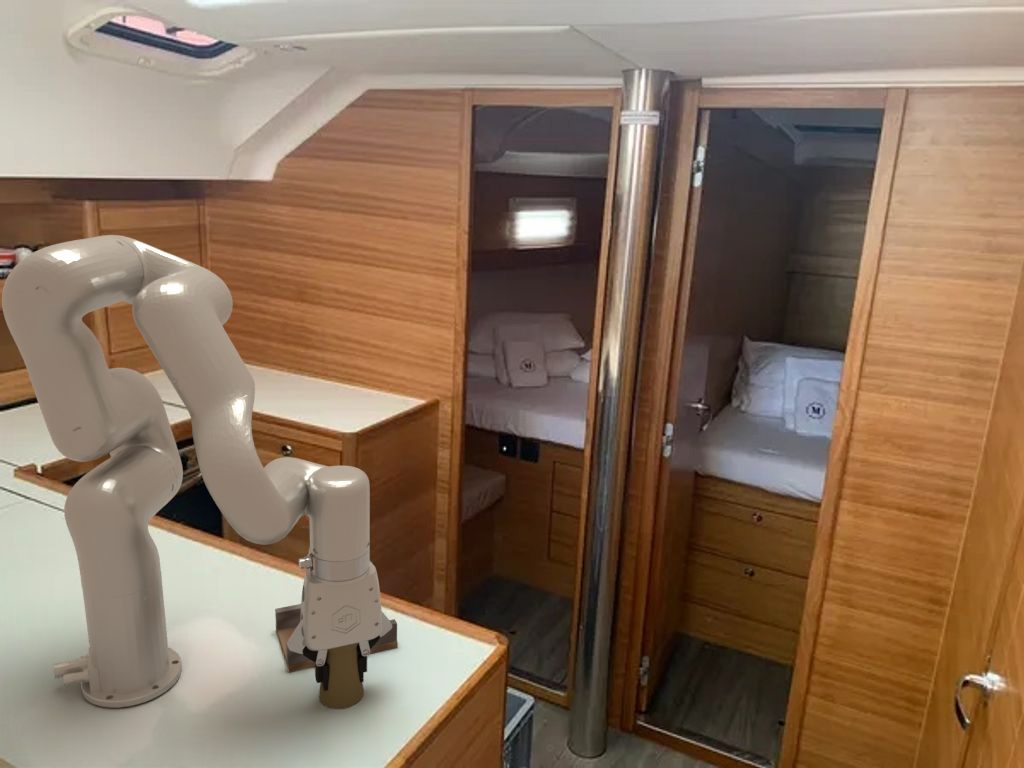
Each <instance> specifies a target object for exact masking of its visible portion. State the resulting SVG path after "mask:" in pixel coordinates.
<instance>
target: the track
mask: <svg viewBox="0 0 1024 768" xmlns="http://www.w3.org/2000/svg"><path fill="white" fill-rule="evenodd" d="M274 609H275V610H274V611H275V631H276V635H277V638H278V641H279V644H280V649H281V652H282V654H283V657H284V661H285V664H286V668H287V671H288V673H293V672H297V671H301V670H302V671H303V670H306V669H310V668H315V662H313V661H312V660H310V659H308V658H307V657H305V656H304V655H303V654H301V653H300V654H299V653H296V652H293V651H290V650H289V648H288V645H287V641H288V640H289V638H290V637H291V635H292V634H293V632H294V630H295V629H296V627H297V626H298V624H299V623H300V614H301V603H298V604H292V605H288V606H282V607H278V608H274ZM389 620H390V622H391V624H392V629H391V630H390V631H388V632H387V633H386V634H385V635H383V636H381V637H380V639H379V641H378V642H377V643H376V644H375V645H374V646H373V647H372V648H371V649H370V654H369V655H372V654H375V653H381V652H384V651H389V650H390V651H391V650H393V649H398V646H399V645H398V644H399V643H398V623H397V621H396V619H395V618H394V619H389ZM303 642H305V641H304V639H303Z"/></svg>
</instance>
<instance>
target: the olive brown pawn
mask: <svg viewBox="0 0 1024 768" xmlns="http://www.w3.org/2000/svg"><path fill="white" fill-rule="evenodd" d="M357 645H358V643H355V644H350V645H345V646H341V647H337V648H332V649H328V650H327V655H326V663H327V664H329V682H328V690H327V691H324V690H323V685H322V682H320V685H319V692H318V698H319V701H320V703H321V704H322V705H323V706H326V707H327V708H331V709H340V710H341V709H342V710H343V709H347V708H350V707H353V706H356V704H358V703H359V702H360V701H361V700H362V698H363V697H364V692H365V690H364V684H363V683H364V682H361V683H360V677H359V672H358V651H357Z"/></svg>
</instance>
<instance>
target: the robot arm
mask: <svg viewBox="0 0 1024 768" xmlns="http://www.w3.org/2000/svg"><path fill="white" fill-rule="evenodd" d="M122 302H123V303H125V304H130V305H132V308H131V310H132V317H133V321H134V324H135V325H136V327H137V329H138V331H139V333H140V335H141V336H142V338H143V340H144V341H145V342H146V344H147V346H148V348H149V349H150V351H151V352H152V354H153V355H154V356H153V357H155V359H156V361H157V362H158V363H159V365H160V367H161V369H162V370H163V372H164V373H165V374H164V375H166V377H167V378H168V380H169V382H170V384H171V385H172V386H173V388H174V390H175V392H176V393H177V396H179V398H180V400H181V401H182V404H184V406H185V408H186V410H187V411H188V414H189V417H190V420H191V427H192V439H193V444H194V448H195V454H196V458H197V463H198V468H199V471H200V474H201V477H202V479H203V482H204V485H205V487H206V489H207V491H208V492H209V495H210V496H211V498H212V499H213V502H215V504H216V506H217V507H218V509H219V511H220V512H221V514H222V515H223V517H224V518H225V520H226V521H227V522H228V524H229V525H230V526H231V527H232V529H234V531H235V532H236V533H237V534H238V535H239V536H240V537H242V538H243V539H244V540H246V541H248V542H250V543H253V544H255V545H256V544H257V545H262V546H263V545H264V546H265V545H270V544H271V545H272V544H275V543H277V542H279V541H281V540H283V539H284V538H286V536H288V534H289V533H290V532H291V531H292V529H293V528H294V526H295V525H296V524H297V523H298V522H299V519H300V518H301V517H303V516H308V519H309V548H308V553H307V556H304V557H301V558H298V566H299V569H300V570H303V569H306V571H305V574H304V579H303V584H302V592H301V601H300V604H301V614H300V623H299V624H298V626H297V627H296V629H295V630H294V632H293V634H292V635H291V637H290V638H289V640H288V641H287V645H288V648H289V650H290V651H293V652H296V653H299V654H300V653H301V654H303V655H304V656H305V657H307V658H308V659H310V660H312V661H313V662H315V667H314V675H315V681H316V683H317V684H319V683H320V684H321V682H322V685H323V690H324V691H327V690H328V682H329V664H327V663H326V655H327V650H328V649H332V648H337V647H341V646H345V645H350V644H355V643H358V645H357V651H358V672H359V677H360V683H361V682H362V683H364V679H365V678H364V673H366V672H368V656H369V655H371V654H370V649H371V648H372V647H373V646H374V645H375V644H376V643H377V642H378V641H379V639H380V637H381V636H383V635H385V634H386V633H387V632H388V631H390V630H391V629H392V624H391V622H390V620H391V619H389V618H388V617H387V616H386V615H385V613H384V612H383V611H382V600H381V591H380V582H379V577H378V572H377V568H376V566H375V565H374V564H373V562H372V561H371V560H370V559H371V557H370V553H371V551H370V540H371V539H370V535H371V534H370V530H371V529H370V527H371V526H370V525H371V524H370V523H371V522H370V517H371V515H370V512H371V511H370V509H371V508H370V507H371V506H370V505H371V504H370V503H371V502H370V497H371V496H370V494H371V493H370V490H371V489H370V487H371V485H370V480H369V477H368V475H367V474H366V472H365V471H363V470H361V468H358V467H355V466H350V465H331V466H327V465H324V464H320V463H316V462H312V461H309V460H306V459H302V458H298V457H291V456H284V457H283V456H281V457H278V458H276V459H275V458H274V459H273V460H272V461H270V462H269V463H267V464H266V465H265V466H264V465H263V464H262V462H261V460H260V457H259V455H258V453H257V449H256V446H255V443H254V438H253V433H252V432H253V429H252V421H253V418H252V417H253V410H254V403H255V398H256V397H255V393H256V392H255V391H256V386H255V385H256V384H255V381H254V380H255V379H254V377H253V376H252V374H251V373H250V370H249V369H248V367H247V366H246V364H245V363H244V361H243V359H242V357H241V356H240V354H239V352H238V349H236V346H235V345H234V344H233V341H231V339H230V337H229V335H228V333H227V332H226V330H225V328H224V325H225V324H226V323H227V322H228V320H229V319H230V317H231V315H232V312H233V308H234V307H233V305H234V304H233V303H234V302H233V296H232V294H231V291H230V289H229V287H228V286H227V284H226V283H225V282H224V281H223V279H222V278H221V277H219V276H218V275H217V274H215V273H214V272H213V271H211V270H209V269H208V268H206V267H204V266H201V265H198V264H196V263H194V262H193V261H189V260H186V259H185V258H182V257H179V256H177V255H174V254H172V253H170V252H166V251H164V250H162V249H160V248H157V247H155V246H152V245H150V244H148V243H145V242H143V241H141V240H137V239H135V238H132V237H128V236H125V235H117V234H106V235H105V234H103V235H98V236H94V237H93V236H92V237H87V238H82V239H76V240H70V241H65V242H60V243H56V244H52V245H49V246H45V247H43V248H41V249H38V250H36V251H34V252H32V253H30V254H29V255H27V256H26V257H24V258H23V259H21V260H20V261H19V262H18V263H17V264H16V265H15V266H14V267H13V269H12V270H11V271H10V273H9V274H8V276H7V277H6V280H5V282H4V285H3V288H2V293H1V309H2V312H3V317H4V320H5V323H6V326H7V328H8V330H9V333H10V334H11V336H12V339H13V340H14V343H15V345H16V347H17V348H18V351H19V353H20V356H21V357H22V359H23V362H24V365H25V367H26V371H27V373H28V377H29V380H30V383H31V386H32V389H33V391H34V394H35V397H36V401H37V403H38V405H39V408H40V410H41V414H42V417H43V421H44V422H45V425H46V427H47V431H48V432H49V436H50V438H51V441H52V443H53V445H54V446H55V448H56V450H57V451H58V452H59V453H60V455H62V456H64V457H66V458H67V460H68V459H69V460H70V461H74V462H77V463H78V462H79V463H80V462H82V463H83V462H90V461H95V460H98V459H100V458H102V457H104V456H106V455H108V454H109V455H110V457H109V458H108V459H105V461H103V462H102V463H100V464H98V465H97V466H95V467H94V468H92V469H91V470H90V471H89V472H87V473H85V475H83V476H82V477H81V478H80V479H78V481H77V482H76V483H75V484H74V485H73V487H72V488H71V489H70V491H69V493H68V494H67V495H66V499H65V502H64V508H63V513H64V521H65V524H66V527H67V529H68V532H69V534H70V537H71V540H72V542H73V545H74V550H75V553H76V557H77V561H78V562H77V563H78V569H79V575H80V577H79V578H80V584H81V589H82V597H83V605H84V613H85V621H86V627H87V628H86V629H87V637H88V643H89V644H88V646H89V647H88V654H86V655H81V656H80V659H75V660H67V661H61V662H57V663H54V664H53V665H54V666H53V672H54V673H53V674H54V679H59V678H63V685H64V686H68V685H73V684H76V683H80V689H81V693H82V696H83V697H84V699H86V701H88V702H89V703H90V704H92V705H96V706H99V707H104V708H112V709H113V708H114V709H115V708H117V709H118V708H125V707H126V708H127V707H132V706H136V705H140V704H143V703H147V702H148V701H151V700H153V699H155V698H157V697H159V696H160V695H162V694H165V693H166V692H167V691H168V690H169V689H170V688H172V687H173V686H174V685H175V684H176V682H178V680H179V678H180V677H181V675H182V671H183V668H182V667H183V666H182V665H183V664H182V658H181V657H180V655H179V653H178V652H176V651H175V650H173V649H172V648H169V643H168V642H169V641H168V633H167V632H168V631H167V623H166V611H165V609H166V608H165V599H164V598H165V597H164V589H163V588H164V587H163V578H162V577H163V576H162V569H161V559H160V554H159V551H158V547H157V544H156V543H155V541H154V539H153V538H152V536H151V534H150V532H149V523H150V520H152V518H153V517H155V515H156V514H157V513H159V511H160V510H162V509H163V508H164V507H165V506H166V505H167V504H168V503H169V502H171V500H172V499H173V498H174V497H175V496H176V495H177V493H178V492H179V490H180V489H181V486H182V483H183V477H184V476H183V475H184V473H183V472H184V470H183V464H182V459H181V456H180V453H179V450H178V446H177V443H176V440H175V436H174V434H173V429H172V427H171V423H170V421H169V417H168V414H167V411H166V408H165V404H164V402H163V400H162V397H161V395H160V393H159V391H158V389H157V388H156V387H155V385H154V384H153V382H151V381H150V379H148V377H146V376H145V375H143V374H142V373H140V372H138V371H136V370H134V369H131V368H127V367H113V368H109V366H108V364H107V361H106V358H105V354H104V350H103V347H102V345H101V343H100V341H99V340H98V338H97V336H95V334H94V332H93V331H92V330H91V328H90V327H88V326H87V324H85V322H84V321H83V317H84V316H86V315H88V314H89V313H90V312H91V313H92V312H95V311H97V310H100V309H104V308H107V307H109V306H112V305H116V304H119V303H122ZM303 639H304V641H305V642H303Z"/></svg>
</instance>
